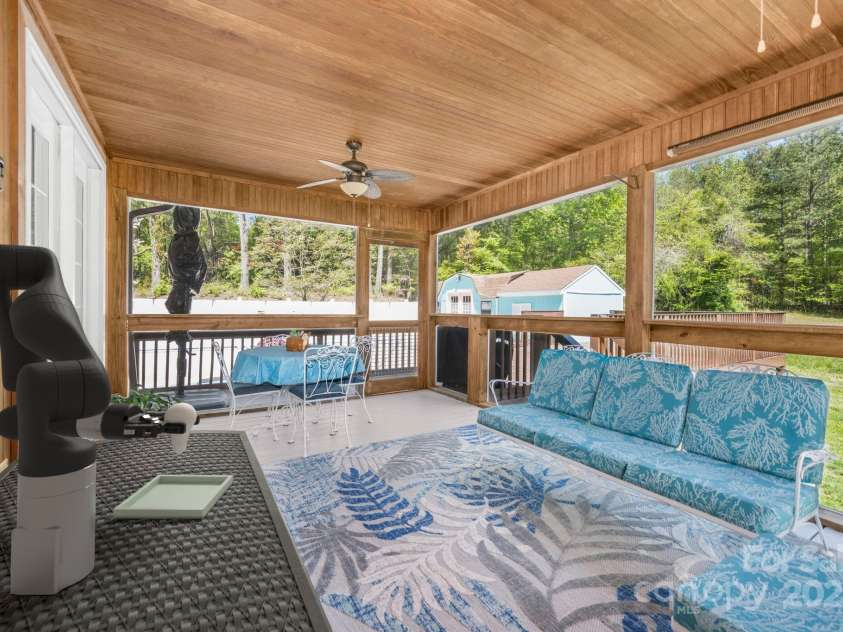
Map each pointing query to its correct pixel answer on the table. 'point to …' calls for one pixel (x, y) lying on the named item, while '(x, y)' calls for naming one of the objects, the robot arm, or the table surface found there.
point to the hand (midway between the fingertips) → (192, 423)
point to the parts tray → (175, 497)
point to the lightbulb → (181, 415)
